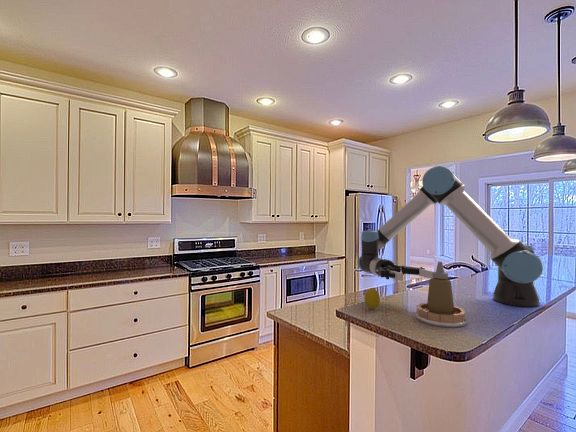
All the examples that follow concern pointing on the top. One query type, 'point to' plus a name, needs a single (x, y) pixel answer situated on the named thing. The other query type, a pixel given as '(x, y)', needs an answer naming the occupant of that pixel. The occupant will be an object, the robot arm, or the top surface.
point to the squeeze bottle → (440, 292)
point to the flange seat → (441, 317)
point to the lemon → (372, 298)
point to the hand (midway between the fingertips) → (417, 276)
